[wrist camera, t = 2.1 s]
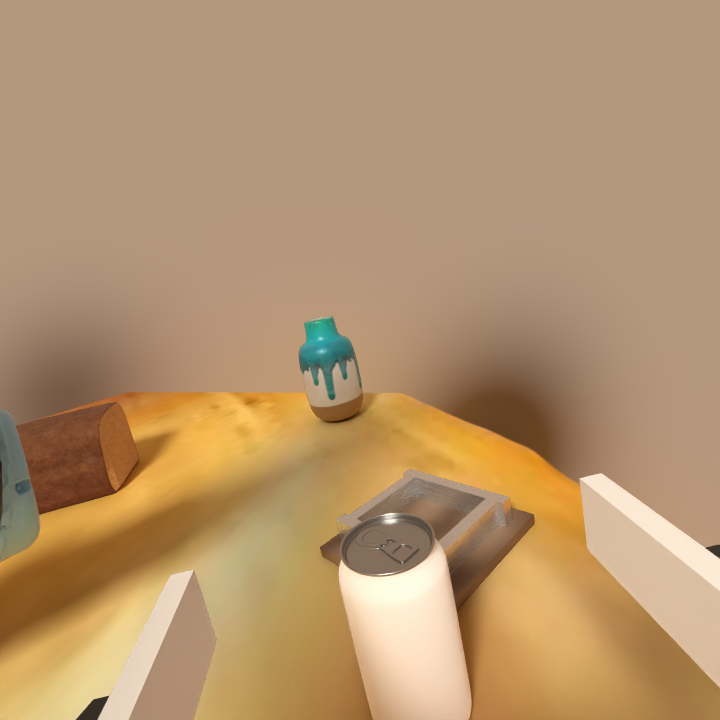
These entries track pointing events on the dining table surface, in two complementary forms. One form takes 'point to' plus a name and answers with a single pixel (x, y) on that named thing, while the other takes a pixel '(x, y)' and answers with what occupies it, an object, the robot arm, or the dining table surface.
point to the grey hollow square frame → (477, 503)
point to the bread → (78, 455)
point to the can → (404, 620)
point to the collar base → (477, 562)
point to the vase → (330, 371)
